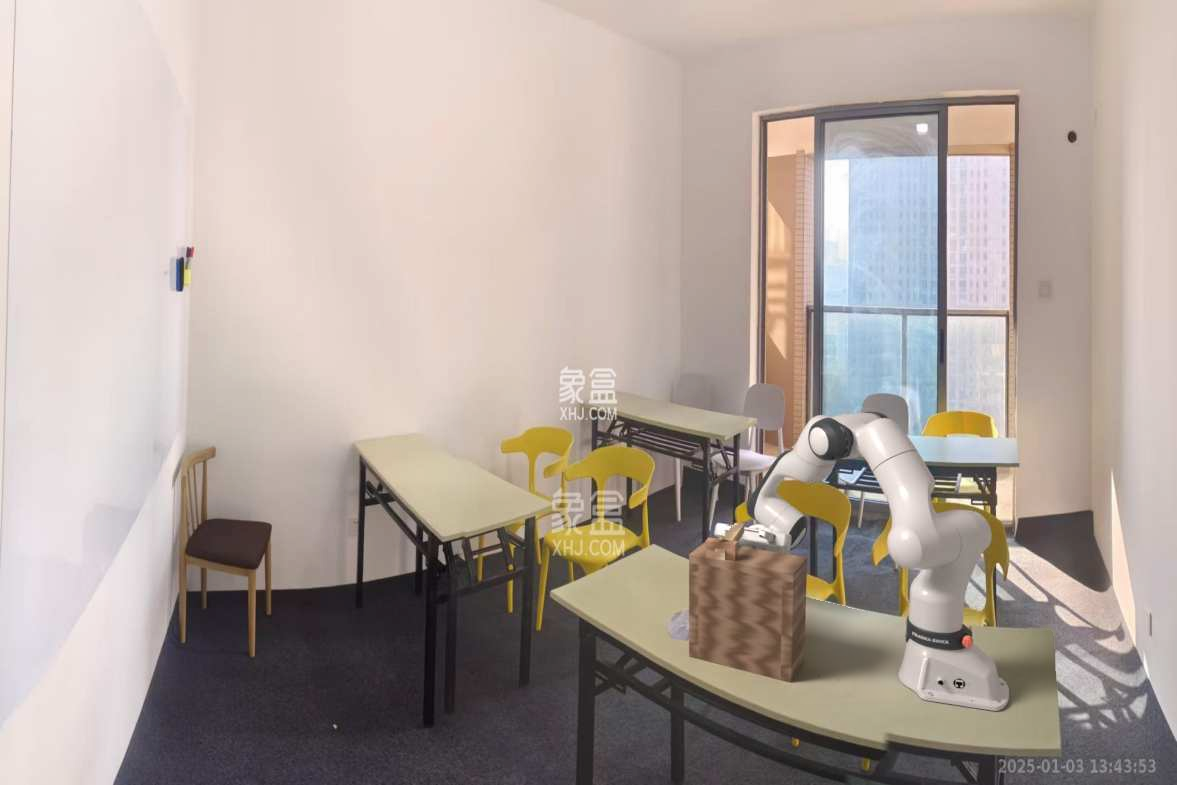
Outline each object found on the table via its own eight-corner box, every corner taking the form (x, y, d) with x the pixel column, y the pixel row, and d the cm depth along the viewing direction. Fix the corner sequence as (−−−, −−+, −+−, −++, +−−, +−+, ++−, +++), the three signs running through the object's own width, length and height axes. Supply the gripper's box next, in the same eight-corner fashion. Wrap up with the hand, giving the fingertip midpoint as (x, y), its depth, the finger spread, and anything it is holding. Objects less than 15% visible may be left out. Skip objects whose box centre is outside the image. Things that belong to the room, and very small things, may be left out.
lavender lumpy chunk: (667, 646, 199) (706, 643, 196) (664, 628, 199) (702, 624, 196) (675, 627, 211) (712, 623, 208) (672, 610, 210) (708, 606, 207)
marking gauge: (753, 533, 199) (753, 514, 198) (734, 561, 181) (734, 540, 180) (726, 530, 202) (726, 511, 201) (705, 557, 184) (705, 537, 183)
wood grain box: (804, 661, 186) (807, 557, 182) (790, 682, 177) (793, 573, 173) (706, 637, 199) (706, 540, 195) (689, 656, 190) (689, 554, 186)
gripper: (725, 524, 220) (709, 512, 209) (797, 536, 210) (784, 524, 199) (721, 546, 218) (704, 535, 207) (793, 559, 208) (780, 549, 197)
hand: (744, 530), depth 203 cm, fingers open, 8 cm apart
